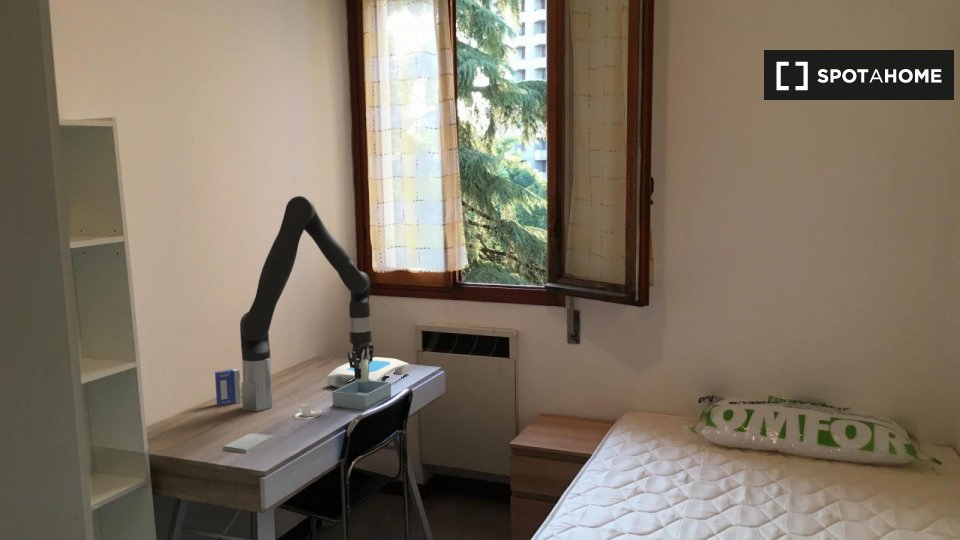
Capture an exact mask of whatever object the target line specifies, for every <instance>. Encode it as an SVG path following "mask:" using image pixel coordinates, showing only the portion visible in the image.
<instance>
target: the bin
mask: <svg viewBox="0 0 960 540" xmlns="http://www.w3.org/2000/svg"><path fill="white" fill-rule="evenodd" d="M349 383H350V384H348V385H346V386H344V387H341V388H336V389H335V390H333V391H332V393H331V394H332V395H331V398H332V406H333V405H335V406H334V407H338V406H341V407H340V408H346V407H347V409H357V410H361V411H362V410H363V411H366V410H369V409H371V408H372V407H374V406H376V405H378V404H380V403H382V402H384V401H385V400H387V399H389V398H391V397H390V396H392V384H391V383H389V382H380V381H371V380H369V381H367V382H356V380H353V381H351V382H349ZM388 397H389V398H388ZM379 402H380V403H379Z"/></svg>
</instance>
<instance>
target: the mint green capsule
mask: <svg viewBox="0 0 960 540" xmlns="http://www.w3.org/2000/svg"><path fill="white" fill-rule="evenodd" d="M356 359H357V358H356ZM357 360H359V359H357ZM357 363H358V362H357ZM360 369H361V379H355V380H354V381H356V382H367V381H369V373H368V359H363V362H362V363H361V368H360Z"/></svg>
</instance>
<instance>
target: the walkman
mask: <svg viewBox="0 0 960 540" xmlns="http://www.w3.org/2000/svg"><path fill="white" fill-rule="evenodd" d="M240 374H241V373H240V369H239V368H232V369H225V370H219V371H218V370H217V371H215V372H214V379H215V397H216V405H217V406H218V407H222V406H228V405H233V404H239V403H241V402H242V401H241V400H242V397H241V383H240V382H241V381H240V380H241V375H240Z"/></svg>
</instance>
